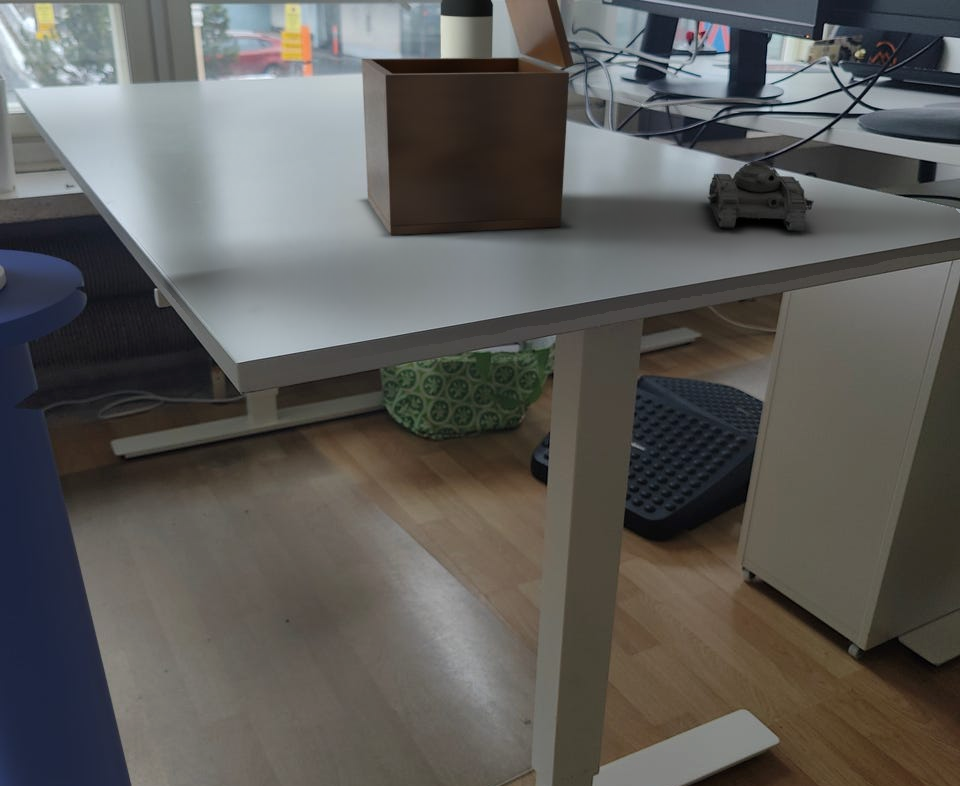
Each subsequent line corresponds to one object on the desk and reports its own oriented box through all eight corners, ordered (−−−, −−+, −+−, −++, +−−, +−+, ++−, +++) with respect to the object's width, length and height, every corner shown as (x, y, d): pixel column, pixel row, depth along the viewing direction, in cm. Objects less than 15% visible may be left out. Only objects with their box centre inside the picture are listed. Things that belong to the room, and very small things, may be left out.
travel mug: (442, 111, 148) (442, -21, 139) (439, 104, 155) (438, -22, 146) (493, 111, 149) (496, -20, 140) (488, 104, 156) (490, -21, 147)
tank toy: (816, 235, 85) (827, 175, 82) (708, 231, 86) (716, 171, 83) (794, 205, 95) (803, 151, 93) (698, 201, 96) (704, 147, 93)
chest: (390, 235, 83) (385, 74, 77) (367, 200, 94) (361, 58, 88) (560, 226, 86) (569, 72, 80) (519, 194, 98) (523, 57, 91)
